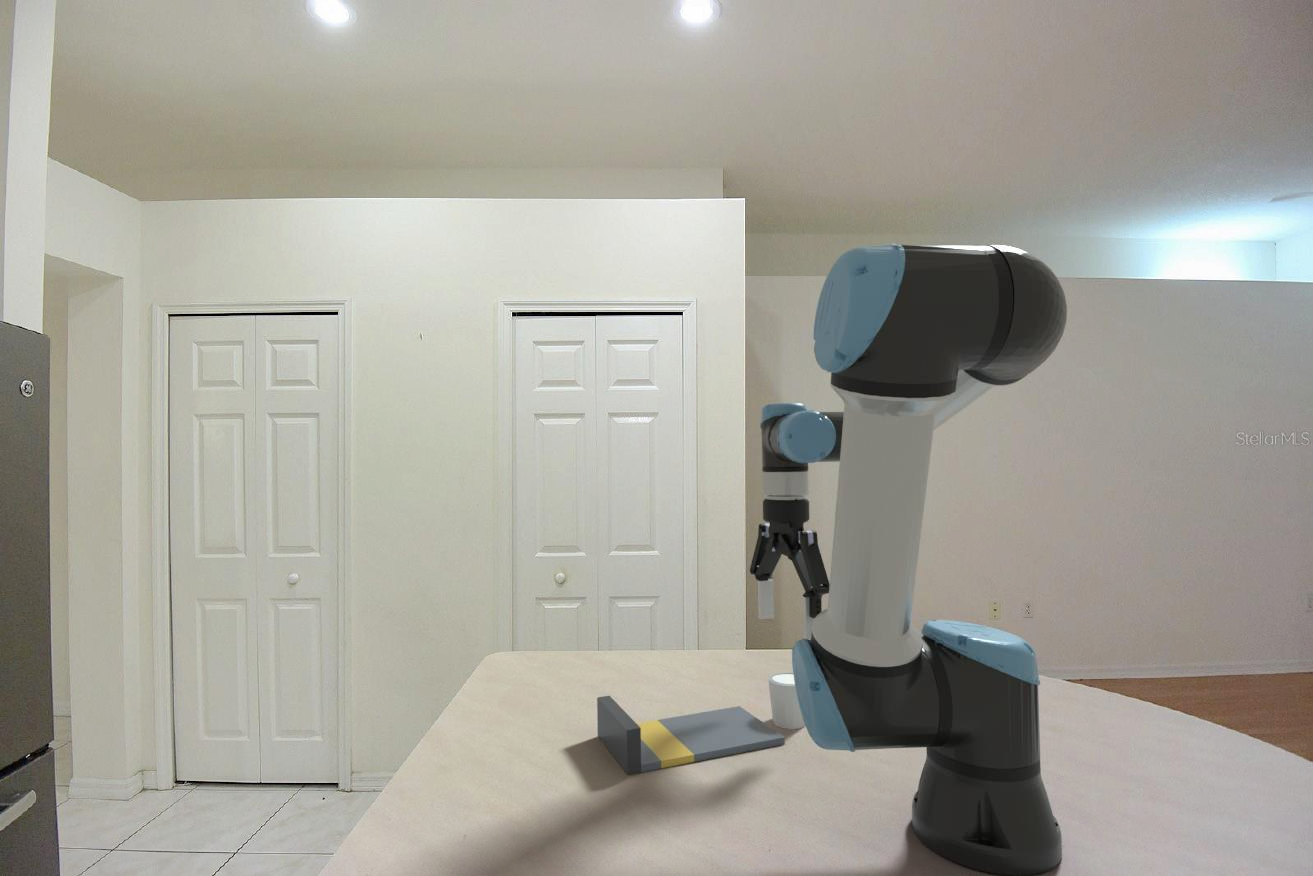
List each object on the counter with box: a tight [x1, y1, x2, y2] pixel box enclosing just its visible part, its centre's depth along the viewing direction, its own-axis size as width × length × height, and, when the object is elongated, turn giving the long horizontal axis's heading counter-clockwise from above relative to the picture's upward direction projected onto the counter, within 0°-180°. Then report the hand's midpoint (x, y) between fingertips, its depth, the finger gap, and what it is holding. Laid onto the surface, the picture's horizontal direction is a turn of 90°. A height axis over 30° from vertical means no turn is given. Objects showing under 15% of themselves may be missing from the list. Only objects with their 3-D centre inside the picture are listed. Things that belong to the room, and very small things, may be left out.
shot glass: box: [767, 672, 806, 730], centre depth 110 cm, size 7×7×7 cm
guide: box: [596, 695, 786, 775], centre depth 103 cm, size 14×25×6 cm, turn 112°
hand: (788, 627), depth 111 cm, fingers open, 13 cm apart
